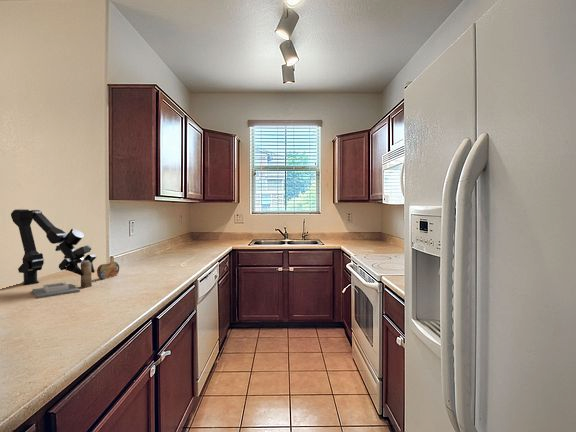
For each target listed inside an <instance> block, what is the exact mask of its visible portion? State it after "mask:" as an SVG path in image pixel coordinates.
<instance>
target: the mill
mask: <svg viewBox="0 0 576 432" xmlns="http://www.w3.org/2000/svg"><path fill="white" fill-rule="evenodd" d="M80 269H81V271H82V272H83V274H84V275H83V276H81V275H80V288H83V289H84V288H91V287H92V286H93V285H92V272H91V262H90V261H83V263H80Z"/></svg>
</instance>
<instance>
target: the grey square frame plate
mask: <svg viewBox="0 0 576 432" xmlns="http://www.w3.org/2000/svg"><path fill="white" fill-rule="evenodd" d="M31 291H32V293H33V294H34V295H35V297H36V298H37V299H40V298H47V297H54V296H55V297H56V296H61V295H66V294H74V293H79V292H81V290H80V288H78V287H77V286H75V285H74V284H72V283H68V284H67V283H66V282H65V281H64V282H58V283H50V284H44V285H42V287H40V288H39V287H38V288H32V289H31Z"/></svg>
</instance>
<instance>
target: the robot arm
mask: <svg viewBox="0 0 576 432" xmlns="http://www.w3.org/2000/svg"><path fill="white" fill-rule="evenodd" d="M10 217H11V219H12V222H13V223H14V224H15V225H16V226H17V227H18V230H19V234H20V238H21V240H20V241H21V243H22V247H23V251H24V255H23V256H22V259H21V260H22V264H21V265H20V266H19V267H18V268H17V271H18V274H19V273H22V274H23V275H22V276H23V281H21V284H22V285H32V284H39V283H40V281H39V280H38V271H41V270H42V269H43V266H44V263H45V259H44V256H43V255H44V254H43V253H42V252H40V253H39V252H38V251H37V247H36V243H35V239H34V235H33V232H32V231H33V230H32V227H31V226H32V225H31V224H32V221H34V222H35V223H36V224H37V225H38V226H39V227H40V229H42V231H44V233H45V234H46V239H47V240H48V241H49V242H50V243H51V244H53V245H54V244H58V245H56V246H55V252H59V251H60V252H61V253H62V254H63V255H64V256H63V258H64V259H62V261H60V263H59V264H58V269H59V270H60V271H66V272H67V271H68V272H71V273H74V274H76V275H79V276H80V277H81V276H83V275H84V274H83V272H82V271H81V267H80V266H79V265H78V264H81V263H83V261H90V262H91V274H94V273H95V271H96V270H95V268H94V264H93V261H95V259H96V258H97V256H96V254H95V253H90V252H91V251H92V247H91V246H90V245H89V244H87V245H84V246H80V247H77V248H76V246H77V245H78V244H79V243H80V242H81V241H82V239H83V238H84V237H85V235H84V233H83V231H82V232H81V231H80V230H78V229H76V228H71V229H69V230H70V231H69V232H68V233H66V232H65V231H64V230H63V229H61V228H59V227H56V225H54V224H53V223H52V222H51V221H50V219H48V218H47V217H46V216H45V215H44V214H43V212H42V211H41V210H39V209H31V210H30V209H27V208H26V209H22V208H19V209H18V208H17V209H14V210H12V212H10ZM87 253H90V254H87ZM86 254H87V255H86Z"/></svg>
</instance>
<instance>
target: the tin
mask: <svg viewBox="0 0 576 432" xmlns="http://www.w3.org/2000/svg"><path fill="white" fill-rule="evenodd" d="M119 272H120V265H119V263H118V262H117V261H110V262H107V263H103V264H99V266H98V267H97V269H96V275H97V277H98V278H99V279H101V280H103V279H104V280H106V279H110V278H113V277H116V276H117V275H118V274H119Z"/></svg>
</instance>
